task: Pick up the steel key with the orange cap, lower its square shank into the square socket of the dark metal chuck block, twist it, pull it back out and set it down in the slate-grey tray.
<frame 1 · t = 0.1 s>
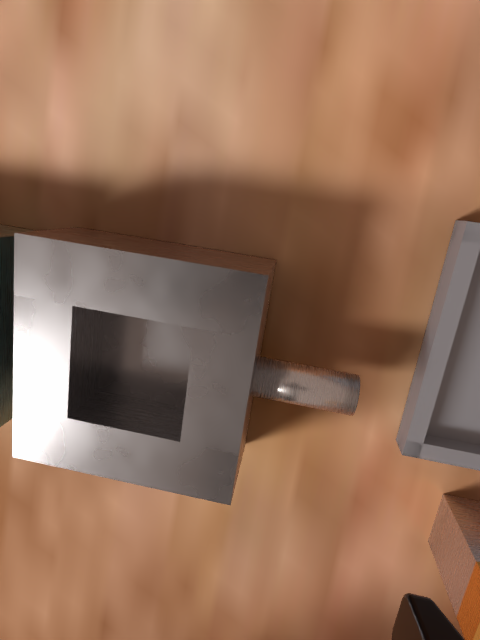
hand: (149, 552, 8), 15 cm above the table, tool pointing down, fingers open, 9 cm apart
chuck: (164, 339, 23), on the table
key: (464, 524, 23), on the table
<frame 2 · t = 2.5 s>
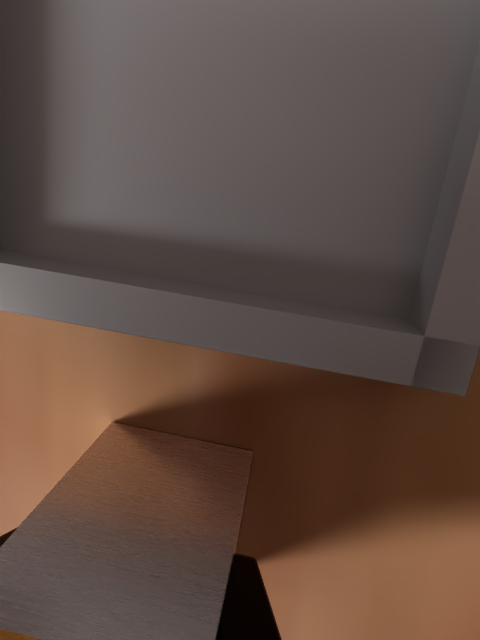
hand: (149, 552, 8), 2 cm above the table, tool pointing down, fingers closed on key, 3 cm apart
key: (173, 498, 9), on the table, touching gripper
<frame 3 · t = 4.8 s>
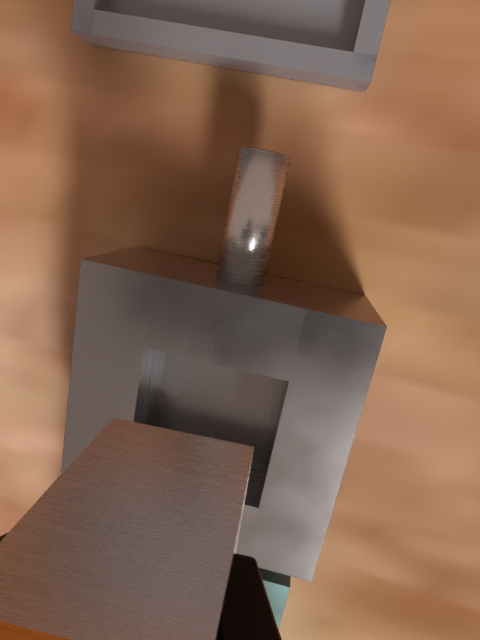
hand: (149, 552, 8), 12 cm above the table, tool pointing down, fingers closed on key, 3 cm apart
chuck: (227, 377, 20), on the table
key: (174, 494, 9), point 11 cm above the table, touching gripper
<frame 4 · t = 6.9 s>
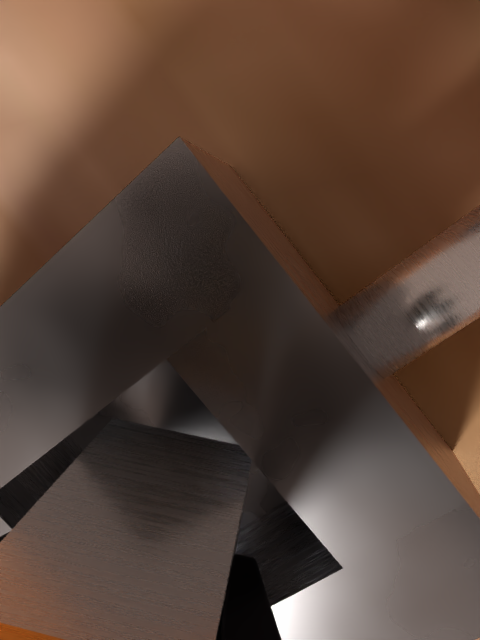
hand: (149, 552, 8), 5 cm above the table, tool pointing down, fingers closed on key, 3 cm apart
chuck: (209, 414, 13), on the table
key: (174, 494, 9), point 4 cm above the table, touching gripper
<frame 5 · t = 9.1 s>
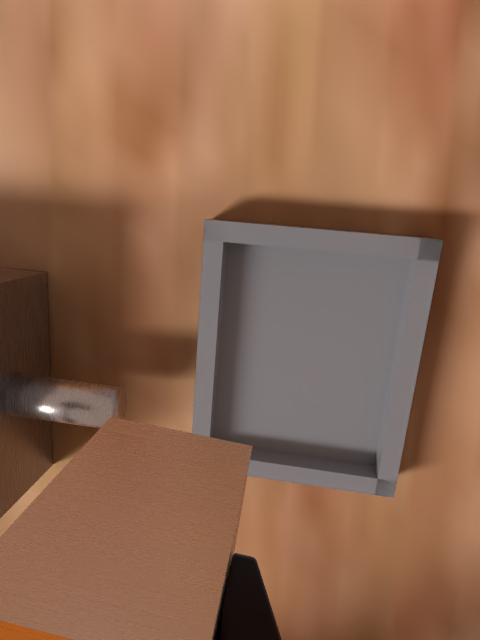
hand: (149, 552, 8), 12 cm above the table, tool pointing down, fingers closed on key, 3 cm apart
tray: (303, 354, 19), on the table
key: (172, 493, 9), point 11 cm above the table, touching gripper
when the fingers open (3 cm above the table, at t = 11.2 s): key drops 2 cm, resting on tray.
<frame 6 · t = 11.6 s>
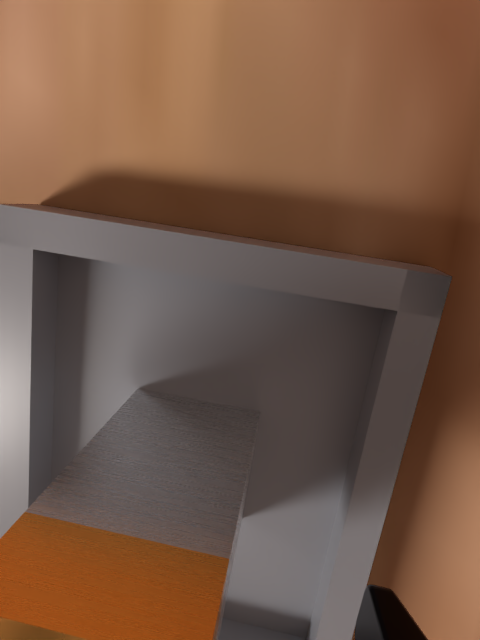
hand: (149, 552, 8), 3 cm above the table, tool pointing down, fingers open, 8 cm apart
tray: (196, 449, 11), on the table
key: (191, 454, 11), resting on tray
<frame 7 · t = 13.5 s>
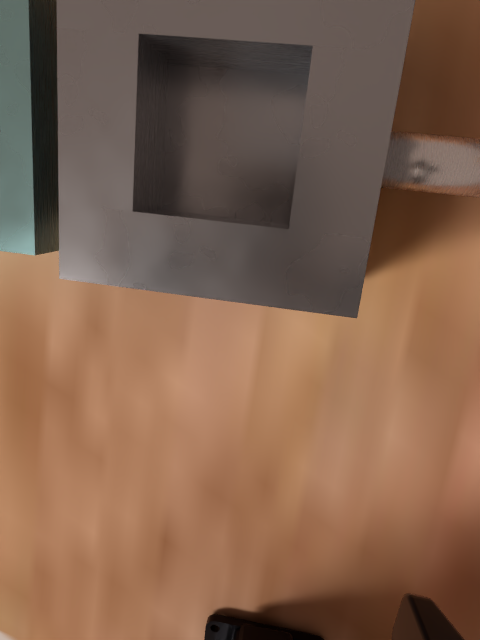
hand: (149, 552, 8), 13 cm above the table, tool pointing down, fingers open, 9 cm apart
chuck: (239, 152, 18), on the table
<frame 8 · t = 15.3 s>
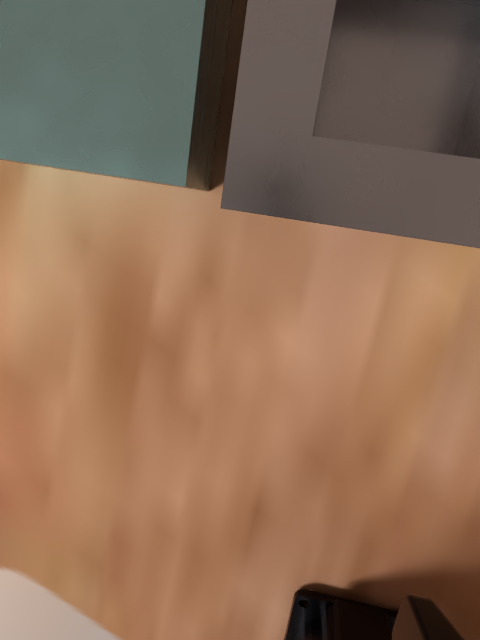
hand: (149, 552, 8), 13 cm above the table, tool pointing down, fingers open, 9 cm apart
chuck: (385, 97, 17), on the table
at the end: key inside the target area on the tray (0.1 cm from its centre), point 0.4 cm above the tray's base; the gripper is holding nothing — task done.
